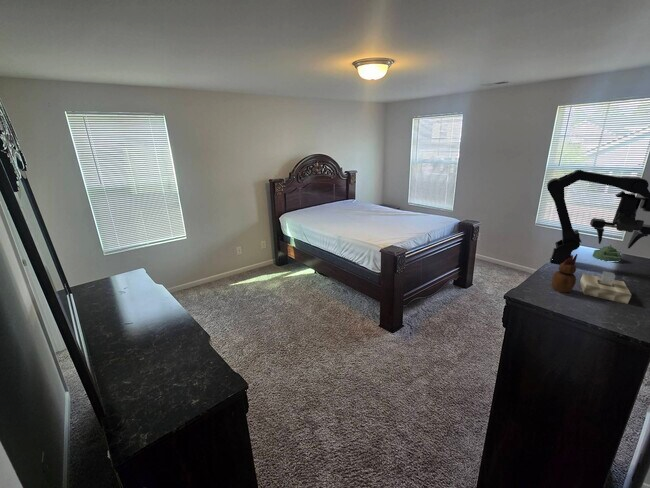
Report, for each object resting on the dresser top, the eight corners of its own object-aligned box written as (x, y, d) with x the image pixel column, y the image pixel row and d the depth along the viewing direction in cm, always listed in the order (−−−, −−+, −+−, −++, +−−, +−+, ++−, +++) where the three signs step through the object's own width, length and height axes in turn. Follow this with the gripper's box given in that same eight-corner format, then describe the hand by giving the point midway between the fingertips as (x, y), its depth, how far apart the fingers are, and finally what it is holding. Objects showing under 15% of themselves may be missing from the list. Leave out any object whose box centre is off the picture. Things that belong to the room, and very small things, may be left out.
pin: (597, 293, 112) (604, 274, 110) (596, 290, 115) (603, 271, 112) (607, 295, 111) (615, 276, 108) (606, 292, 113) (613, 273, 111)
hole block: (583, 294, 111) (586, 285, 110) (579, 282, 121) (582, 273, 119) (627, 304, 105) (631, 294, 104) (619, 290, 114) (623, 281, 113)
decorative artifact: (618, 257, 146) (591, 253, 152) (623, 244, 144) (596, 239, 149) (621, 264, 139) (593, 259, 144) (627, 250, 136) (598, 245, 142)
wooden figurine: (567, 288, 116) (579, 252, 110) (573, 295, 110) (586, 258, 105) (547, 285, 118) (558, 250, 112) (552, 292, 112) (563, 255, 107)
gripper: (600, 209, 119) (587, 246, 125) (667, 217, 110) (650, 257, 115) (595, 204, 128) (584, 239, 133) (657, 211, 119) (642, 248, 124)
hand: (613, 245), depth 126 cm, fingers open, 9 cm apart
